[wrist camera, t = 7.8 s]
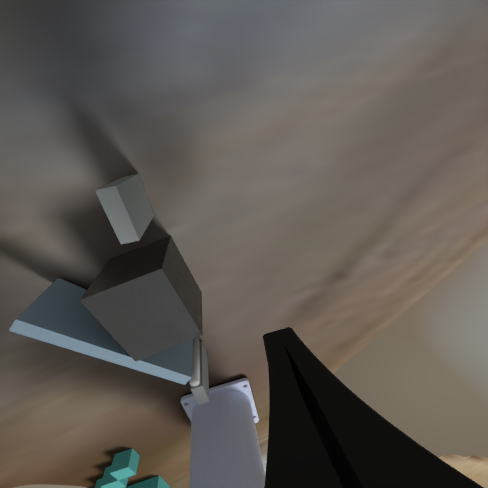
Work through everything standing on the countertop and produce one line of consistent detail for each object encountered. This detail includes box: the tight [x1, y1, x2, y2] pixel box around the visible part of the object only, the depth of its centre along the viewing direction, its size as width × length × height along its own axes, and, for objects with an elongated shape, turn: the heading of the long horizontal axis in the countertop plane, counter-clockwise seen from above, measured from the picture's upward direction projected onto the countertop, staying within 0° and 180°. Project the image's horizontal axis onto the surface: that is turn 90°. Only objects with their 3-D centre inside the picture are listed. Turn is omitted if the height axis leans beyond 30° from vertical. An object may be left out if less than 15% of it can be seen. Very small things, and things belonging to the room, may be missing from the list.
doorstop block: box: [80, 236, 202, 362], centre depth 16 cm, size 6×5×5 cm
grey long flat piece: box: [95, 173, 210, 405], centre depth 17 cm, size 19×1×5 cm, turn 10°
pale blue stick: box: [9, 278, 193, 385], centre depth 17 cm, size 12×1×4 cm, turn 49°
